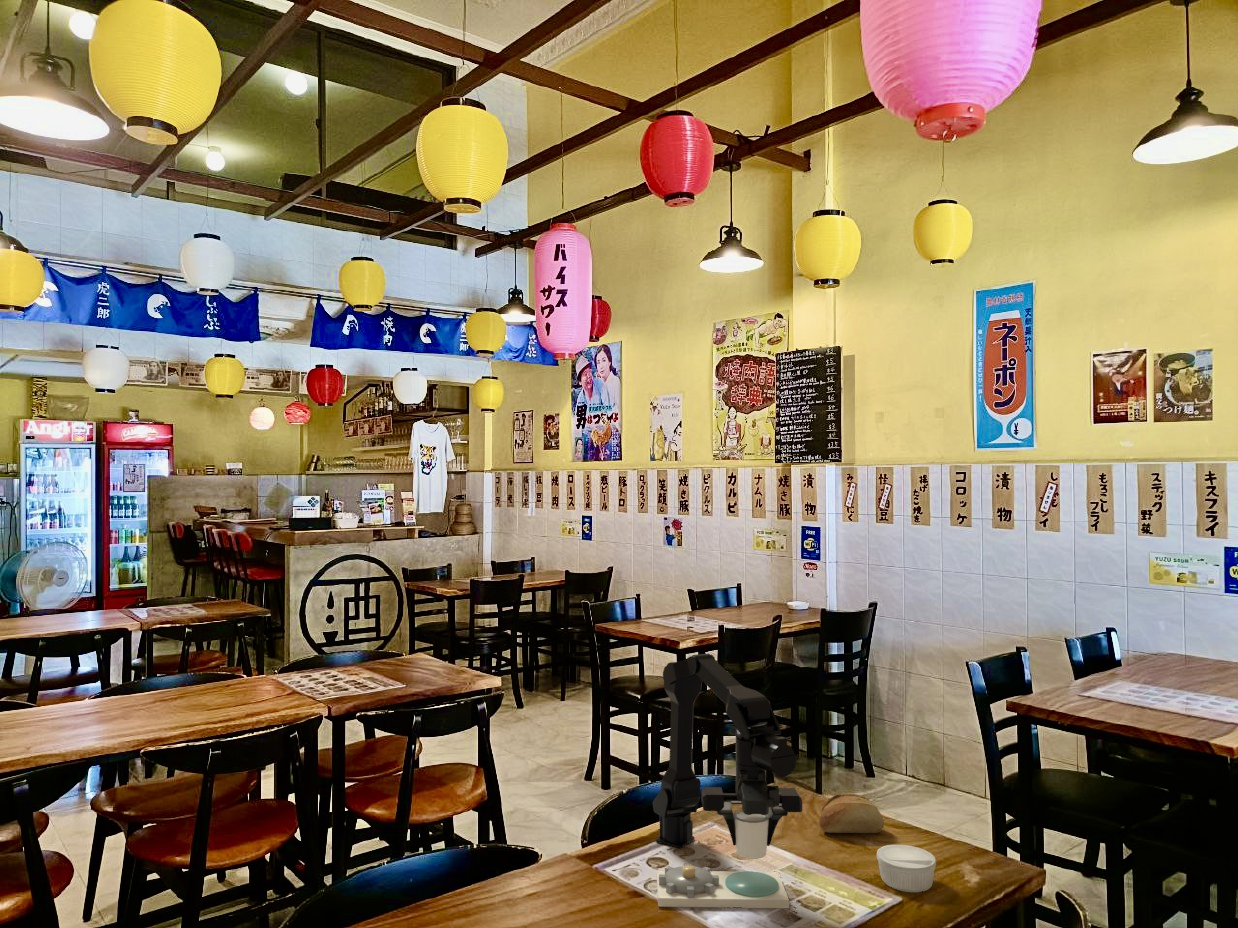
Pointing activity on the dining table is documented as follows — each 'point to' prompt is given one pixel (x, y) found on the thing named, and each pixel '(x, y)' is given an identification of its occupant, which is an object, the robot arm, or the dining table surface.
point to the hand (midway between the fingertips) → (751, 844)
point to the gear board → (719, 888)
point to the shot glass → (751, 834)
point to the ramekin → (906, 867)
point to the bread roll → (850, 815)
